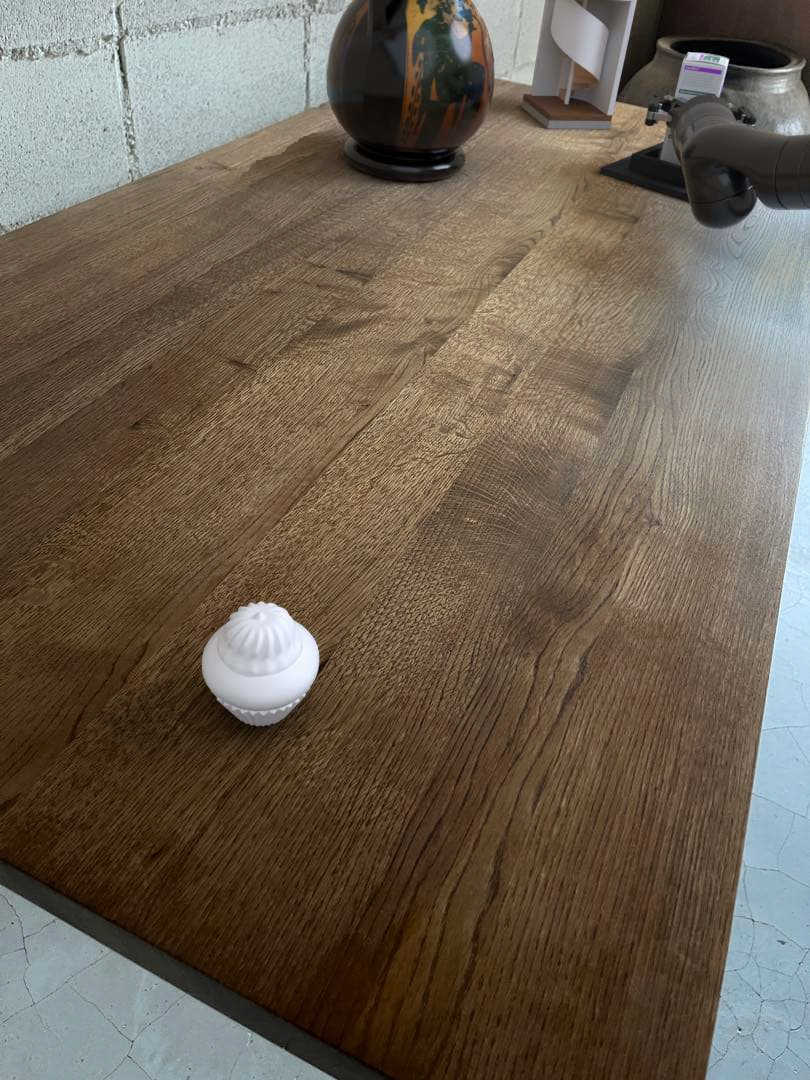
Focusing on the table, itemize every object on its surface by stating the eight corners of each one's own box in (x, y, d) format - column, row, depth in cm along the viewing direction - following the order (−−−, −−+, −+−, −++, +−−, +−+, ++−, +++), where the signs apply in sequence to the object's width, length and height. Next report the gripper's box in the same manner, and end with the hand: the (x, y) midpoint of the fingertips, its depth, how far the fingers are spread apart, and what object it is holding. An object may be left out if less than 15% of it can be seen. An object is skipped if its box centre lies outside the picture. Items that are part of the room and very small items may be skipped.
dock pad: (752, 181, 131) (759, 160, 129) (705, 206, 121) (711, 184, 119) (652, 151, 138) (657, 132, 136) (599, 173, 128) (604, 152, 126)
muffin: (238, 767, 47) (233, 675, 43) (185, 690, 51) (175, 597, 46) (339, 717, 50) (345, 626, 46) (283, 647, 54) (282, 557, 49)
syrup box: (697, 181, 126) (729, 65, 117) (654, 173, 127) (683, 57, 118) (700, 169, 130) (732, 56, 121) (659, 162, 131) (687, 49, 122)
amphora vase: (432, 205, 113) (459, -66, 95) (291, 163, 120) (291, -95, 103) (510, 165, 127) (546, -76, 110) (379, 130, 135) (394, -101, 117)
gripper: (775, 110, 109) (755, 79, 122) (653, 95, 110) (647, 65, 123) (754, 175, 114) (738, 138, 127) (638, 159, 115) (634, 124, 128)
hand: (693, 102), depth 125 cm, fingers closed on syrup box, 6 cm apart
